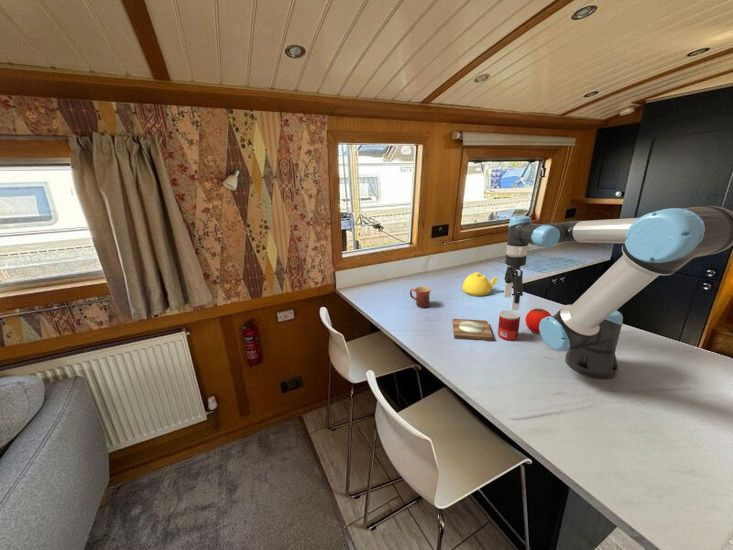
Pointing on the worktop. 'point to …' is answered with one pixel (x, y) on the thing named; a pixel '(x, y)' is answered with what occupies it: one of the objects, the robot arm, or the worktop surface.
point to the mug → (421, 296)
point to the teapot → (478, 285)
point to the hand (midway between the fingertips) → (510, 303)
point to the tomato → (536, 319)
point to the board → (472, 329)
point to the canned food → (508, 325)
